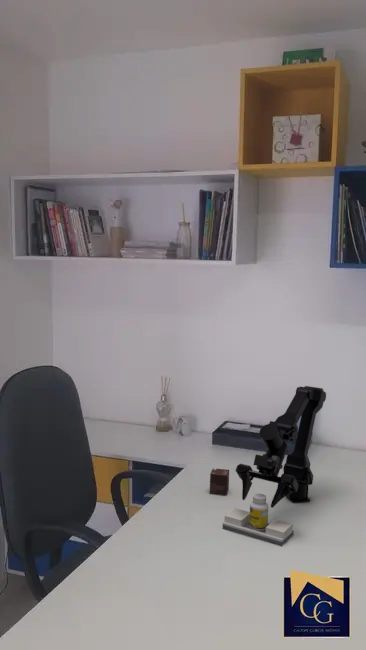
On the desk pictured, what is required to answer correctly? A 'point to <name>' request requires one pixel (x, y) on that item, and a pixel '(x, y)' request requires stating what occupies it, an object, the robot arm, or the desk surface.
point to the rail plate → (273, 534)
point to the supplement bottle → (258, 513)
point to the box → (219, 481)
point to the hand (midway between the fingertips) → (257, 503)
